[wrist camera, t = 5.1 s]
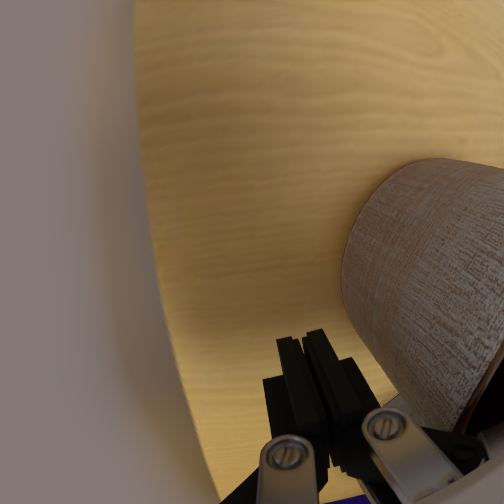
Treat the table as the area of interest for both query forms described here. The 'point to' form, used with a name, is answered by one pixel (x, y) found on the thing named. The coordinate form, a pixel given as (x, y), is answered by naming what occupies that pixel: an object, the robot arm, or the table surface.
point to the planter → (434, 290)
